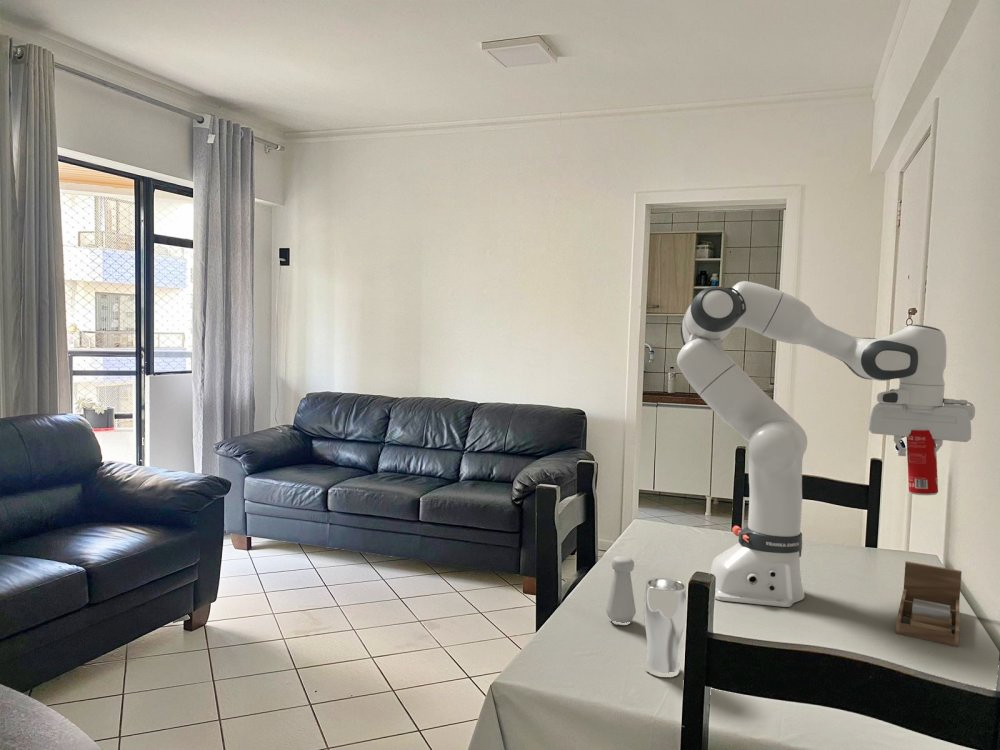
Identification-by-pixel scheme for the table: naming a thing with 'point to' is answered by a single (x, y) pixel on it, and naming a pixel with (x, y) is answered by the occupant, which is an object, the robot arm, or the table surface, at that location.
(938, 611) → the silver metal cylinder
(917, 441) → the beverage can
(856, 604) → the table surface
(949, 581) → the rack
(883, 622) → the table surface
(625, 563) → the salt shaker
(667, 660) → the beer glass
